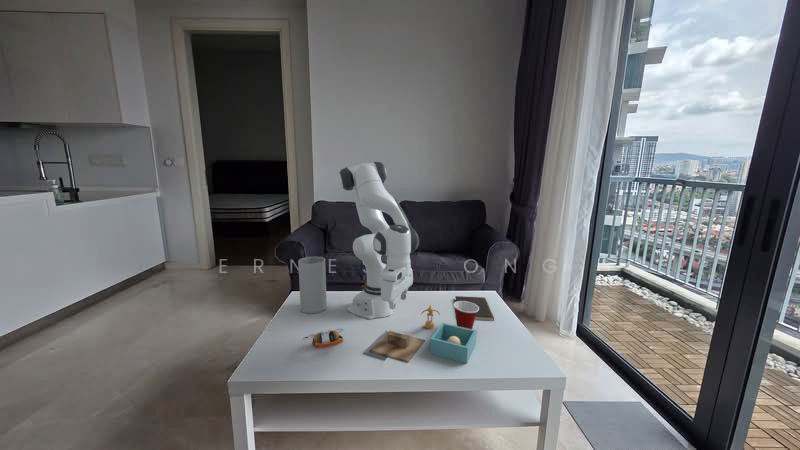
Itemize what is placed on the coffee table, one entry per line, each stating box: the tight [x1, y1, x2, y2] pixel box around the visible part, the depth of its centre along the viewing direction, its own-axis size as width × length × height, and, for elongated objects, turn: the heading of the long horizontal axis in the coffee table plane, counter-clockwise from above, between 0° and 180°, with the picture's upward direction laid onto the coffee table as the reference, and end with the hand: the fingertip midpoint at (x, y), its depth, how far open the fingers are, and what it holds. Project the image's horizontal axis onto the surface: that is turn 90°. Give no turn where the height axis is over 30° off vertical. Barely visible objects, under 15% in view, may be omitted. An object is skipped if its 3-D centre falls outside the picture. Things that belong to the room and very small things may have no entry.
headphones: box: [304, 328, 344, 349], centre depth 129 cm, size 17×5×20 cm
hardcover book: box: [454, 295, 495, 321], centre depth 162 cm, size 16×23×2 cm
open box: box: [429, 322, 478, 365], centre depth 124 cm, size 14×14×7 cm
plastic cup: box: [453, 301, 479, 330], centre depth 138 cm, size 11×11×12 cm
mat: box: [363, 330, 389, 361], centre depth 126 cm, size 20×18×1 cm
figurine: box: [420, 304, 441, 330], centre depth 139 cm, size 8×6×12 cm
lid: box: [370, 330, 426, 363], centre depth 126 cm, size 16×16×5 cm
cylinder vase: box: [297, 256, 328, 315], centre depth 158 cm, size 12×12×25 cm
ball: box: [447, 336, 461, 345], centre depth 124 cm, size 5×5×5 cm
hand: (398, 303), depth 123 cm, fingers open, 8 cm apart
